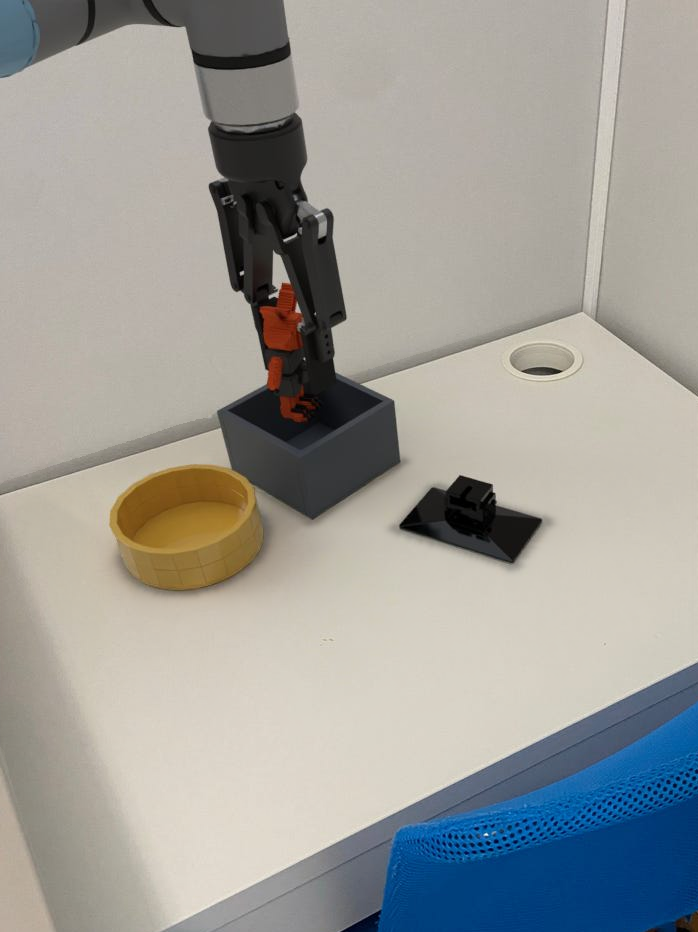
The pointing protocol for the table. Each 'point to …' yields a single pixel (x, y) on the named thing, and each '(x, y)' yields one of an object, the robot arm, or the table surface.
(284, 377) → the toy animal
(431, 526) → the build plate
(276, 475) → the bin
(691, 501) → the table surface
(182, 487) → the bowl
